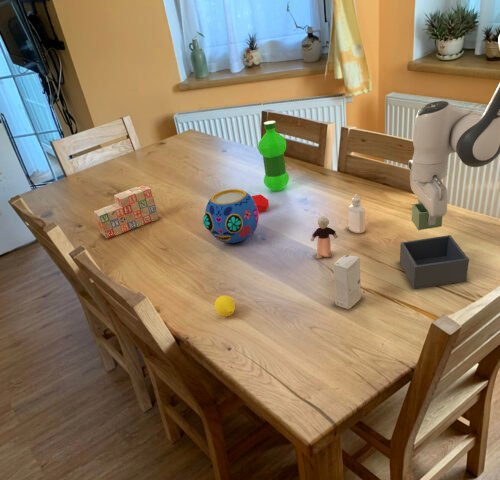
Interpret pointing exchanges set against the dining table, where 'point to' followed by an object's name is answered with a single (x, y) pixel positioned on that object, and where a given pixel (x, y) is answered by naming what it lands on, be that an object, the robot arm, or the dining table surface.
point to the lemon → (224, 305)
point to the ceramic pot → (231, 216)
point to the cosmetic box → (347, 281)
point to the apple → (261, 203)
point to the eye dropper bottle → (356, 216)
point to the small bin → (423, 217)
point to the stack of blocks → (127, 211)
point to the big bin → (433, 262)
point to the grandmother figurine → (323, 237)
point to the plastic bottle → (273, 158)
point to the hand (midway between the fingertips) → (426, 217)
